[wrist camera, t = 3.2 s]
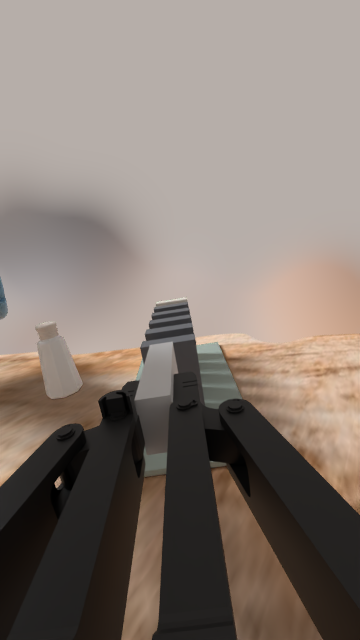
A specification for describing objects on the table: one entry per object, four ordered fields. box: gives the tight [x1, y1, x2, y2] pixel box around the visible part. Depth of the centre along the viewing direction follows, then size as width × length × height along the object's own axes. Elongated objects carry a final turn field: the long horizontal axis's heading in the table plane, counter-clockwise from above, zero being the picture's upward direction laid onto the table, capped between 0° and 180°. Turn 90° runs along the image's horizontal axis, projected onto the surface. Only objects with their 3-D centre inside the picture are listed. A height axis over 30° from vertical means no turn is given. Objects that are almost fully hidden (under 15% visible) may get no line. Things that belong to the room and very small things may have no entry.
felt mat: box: [136, 342, 242, 477], centre depth 37 cm, size 28×14×1 cm, turn 1°
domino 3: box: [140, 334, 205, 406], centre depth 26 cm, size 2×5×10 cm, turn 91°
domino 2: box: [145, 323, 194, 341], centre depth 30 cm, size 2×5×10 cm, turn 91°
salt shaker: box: [36, 321, 83, 399], centre depth 41 cm, size 5×5×11 cm
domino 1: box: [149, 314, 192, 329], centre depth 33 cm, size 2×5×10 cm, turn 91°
